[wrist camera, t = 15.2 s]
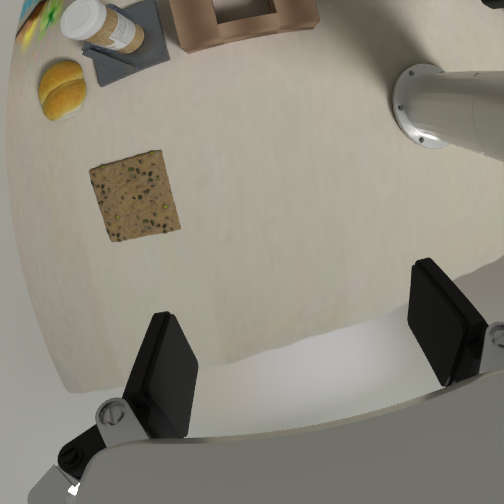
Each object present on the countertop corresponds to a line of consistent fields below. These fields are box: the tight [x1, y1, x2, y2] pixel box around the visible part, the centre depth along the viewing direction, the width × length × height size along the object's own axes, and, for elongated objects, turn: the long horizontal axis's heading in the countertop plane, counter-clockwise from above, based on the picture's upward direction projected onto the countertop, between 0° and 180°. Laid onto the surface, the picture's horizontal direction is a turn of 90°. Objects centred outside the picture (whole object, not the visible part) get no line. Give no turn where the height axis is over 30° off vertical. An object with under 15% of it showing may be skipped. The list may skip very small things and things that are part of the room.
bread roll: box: [38, 61, 87, 121], centre depth 30 cm, size 8×9×4 cm
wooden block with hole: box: [169, 0, 320, 54], centre depth 26 cm, size 16×10×4 cm, turn 103°
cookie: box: [89, 150, 181, 242], centre depth 40 cm, size 12×12×1 cm
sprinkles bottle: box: [60, 0, 144, 54], centre depth 23 cm, size 5×5×14 cm
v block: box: [82, 0, 170, 87], centre depth 28 cm, size 10×11×4 cm
